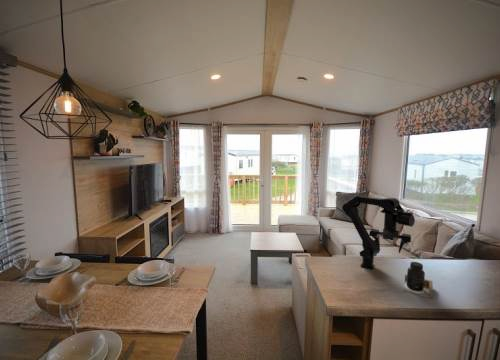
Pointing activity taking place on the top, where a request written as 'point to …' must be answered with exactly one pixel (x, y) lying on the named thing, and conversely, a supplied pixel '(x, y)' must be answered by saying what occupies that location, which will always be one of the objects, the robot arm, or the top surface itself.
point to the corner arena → (426, 292)
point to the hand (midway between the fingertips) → (388, 251)
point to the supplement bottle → (415, 277)
